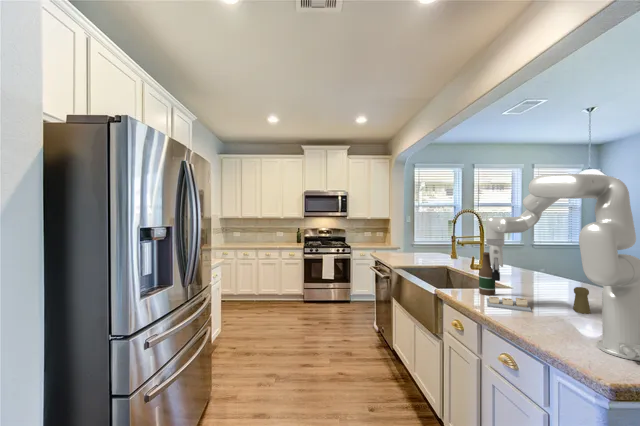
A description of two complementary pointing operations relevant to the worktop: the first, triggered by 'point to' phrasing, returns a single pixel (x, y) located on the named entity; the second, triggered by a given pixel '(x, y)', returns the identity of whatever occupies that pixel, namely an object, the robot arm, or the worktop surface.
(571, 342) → the worktop surface
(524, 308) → the board
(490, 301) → the key
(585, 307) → the cork
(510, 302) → the key
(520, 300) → the key
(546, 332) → the worktop surface
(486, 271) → the beer bottle
